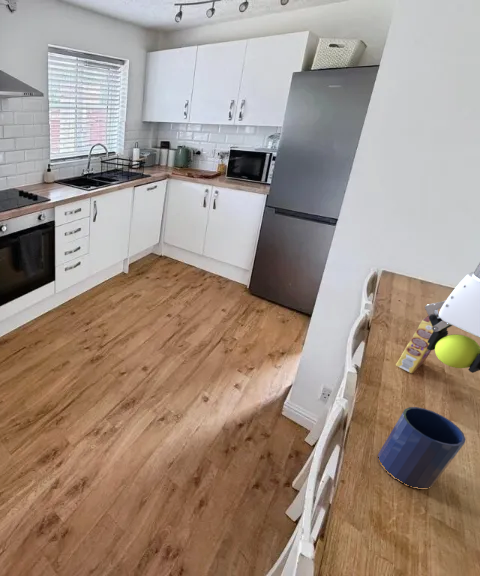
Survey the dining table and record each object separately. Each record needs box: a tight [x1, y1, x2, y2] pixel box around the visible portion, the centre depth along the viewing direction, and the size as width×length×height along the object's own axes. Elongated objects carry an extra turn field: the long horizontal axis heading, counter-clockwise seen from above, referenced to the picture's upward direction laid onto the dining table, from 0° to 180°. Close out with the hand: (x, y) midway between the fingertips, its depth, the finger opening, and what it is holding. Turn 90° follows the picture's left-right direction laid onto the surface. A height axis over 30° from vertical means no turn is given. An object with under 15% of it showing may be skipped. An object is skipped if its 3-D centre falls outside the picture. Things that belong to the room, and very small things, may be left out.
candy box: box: [395, 312, 439, 374], centre depth 98 cm, size 9×4×15 cm, turn 125°
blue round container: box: [377, 406, 466, 488], centre depth 69 cm, size 9×9×12 cm
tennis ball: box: [434, 333, 480, 369], centre depth 70 cm, size 6×6×6 cm
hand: (453, 358), depth 71 cm, fingers closed on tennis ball, 6 cm apart
